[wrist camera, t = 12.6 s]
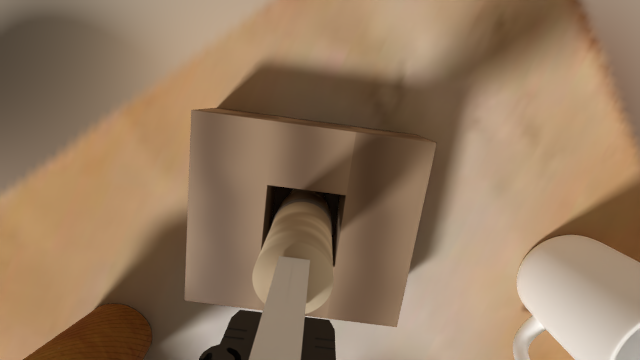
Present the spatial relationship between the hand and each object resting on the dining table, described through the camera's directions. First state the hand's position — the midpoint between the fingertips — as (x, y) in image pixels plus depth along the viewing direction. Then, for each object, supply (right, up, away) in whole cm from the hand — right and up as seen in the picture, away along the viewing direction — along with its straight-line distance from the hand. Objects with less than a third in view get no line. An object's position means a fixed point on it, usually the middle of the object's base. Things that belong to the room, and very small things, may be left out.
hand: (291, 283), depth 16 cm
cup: (+21, -5, +14) cm, 26 cm away
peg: (0, +3, +12) cm, 12 cm away
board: (0, +3, +12) cm, 12 cm away
